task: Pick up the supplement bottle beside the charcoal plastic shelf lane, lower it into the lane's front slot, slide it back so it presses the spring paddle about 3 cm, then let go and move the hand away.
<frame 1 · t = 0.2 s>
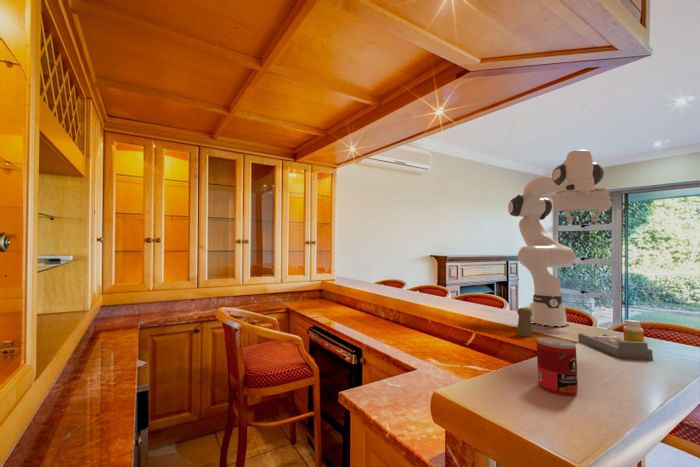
hand: (582, 221, 125), 47 cm above the table, tool pointing down, fingers open, 8 cm apart
canned food: (557, 389, 72), on the table
pusher lane: (611, 349, 108), on the table
supplement bottle: (634, 349, 110), on the table
cork: (525, 335, 127), on the table
paddle: (611, 342, 108), point 2 cm above the table, slide at 0.0 cm
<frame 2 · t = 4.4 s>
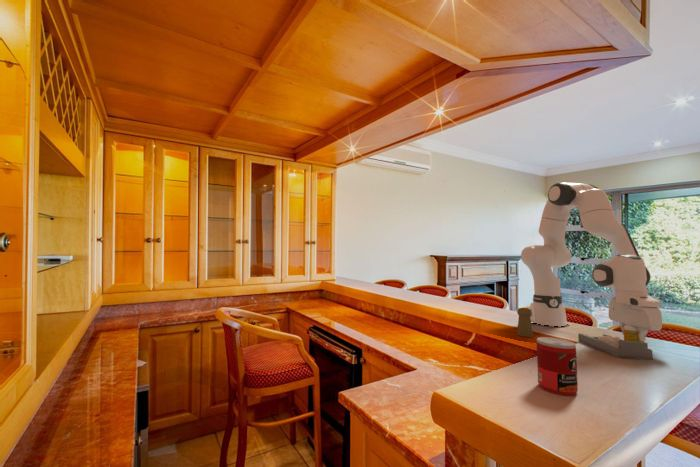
hand: (633, 338, 110), 4 cm above the table, tool pointing down, fingers closed on supplement bottle, 5 cm apart
supplement bottle: (634, 348, 110), on the table, touching gripper
everything else where it was.
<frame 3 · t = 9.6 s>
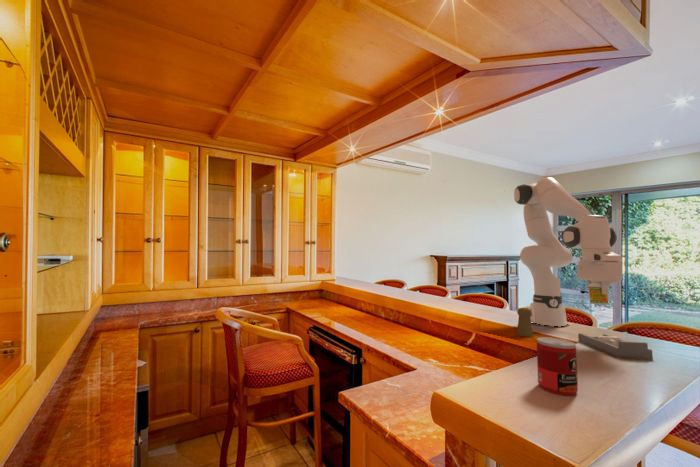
hand: (598, 293, 115), 19 cm above the table, tool pointing down, fingers closed on supplement bottle, 5 cm apart
supplement bottle: (599, 304, 115), point 15 cm above the table, touching gripper
everything else where it was.
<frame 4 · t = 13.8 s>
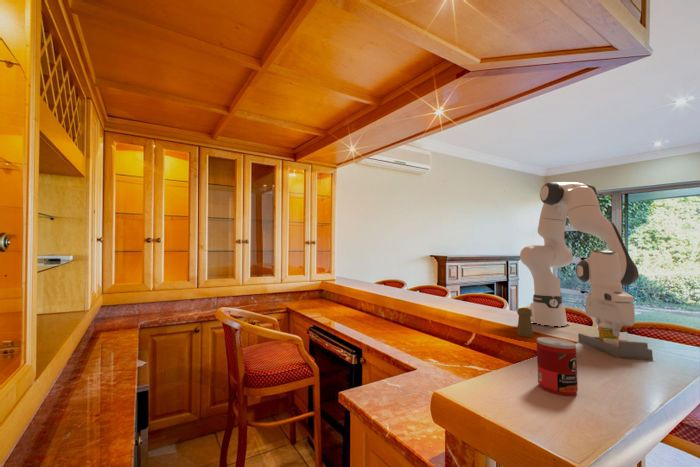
hand: (608, 333, 109), 5 cm above the table, tool pointing down, fingers closed on supplement bottle, 5 cm apart
supplement bottle: (609, 346, 109), point 1 cm above the table, touching gripper
paddle: (618, 344, 105), point 2 cm above the table, slide at 3.4 cm
everything else where it was.
when the fingers open (5 cm above the table, at t = 14.9 s): supplement bottle stays where it is, resting on paddle, pusher lane.
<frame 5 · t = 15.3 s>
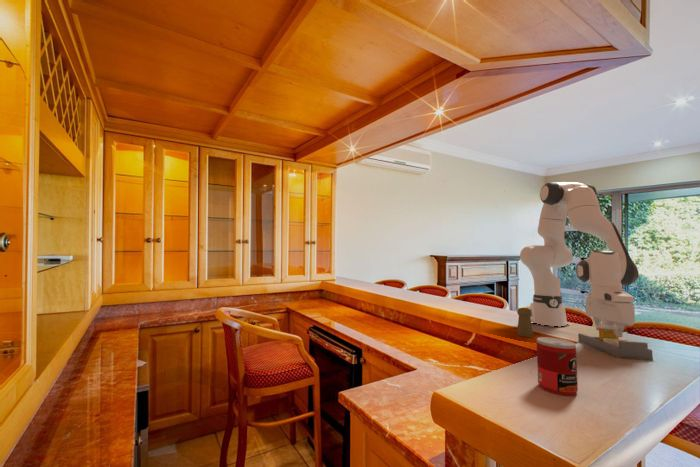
hand: (608, 333, 109), 5 cm above the table, tool pointing down, fingers open, 8 cm apart
supplement bottle: (609, 347, 109), resting on paddle, pusher lane
paddle: (617, 344, 105), point 2 cm above the table, slide at 3.3 cm, touching supplement bottle
everything else where it was.
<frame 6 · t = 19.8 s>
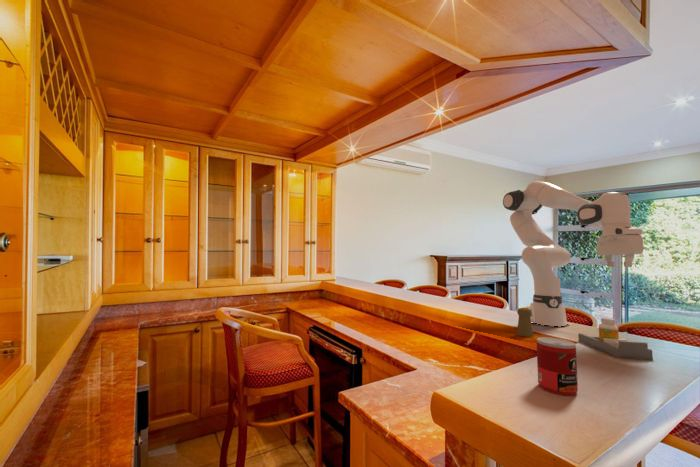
hand: (619, 266, 121), 29 cm above the table, tool pointing down, fingers open, 8 cm apart
supplement bottle: (609, 347, 109), resting on pusher lane
paddle: (617, 344, 105), point 2 cm above the table, slide at 3.3 cm
everything else where it was.
at the end: supplement bottle inside the target area on the pusher lane (2.0 cm from its centre), point 0.4 cm above the pusher lane's base; supplement bottle tilted 0°; paddle slide at 3.3 cm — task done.
